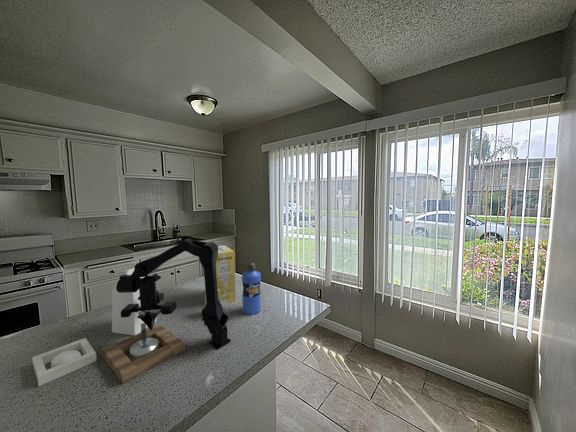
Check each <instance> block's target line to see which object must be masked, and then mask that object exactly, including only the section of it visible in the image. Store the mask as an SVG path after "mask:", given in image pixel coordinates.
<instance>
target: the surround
mask: <svg viewBox="0 0 576 432" xmlns="http://www.w3.org/2000/svg"><path fill="white" fill-rule="evenodd" d="M146 338H156V339H157V340H158V345H160V346H162V347H159V349H158V350H156V351H154V352H152V353H150V354H147V355H145V356H143V357H141V358H139V359H137V360H135V361H132V360H131V359H130V357H128V355H126V353H128V352H130V347H131V346H132V345H133V344H134V343H136V342H138V341H140V340H142V336H141V332H140V333H138V334H137V335H134V336H133V335H131V336H130V337H128V338H125V339H122V340H120V341H118V342H115V343H113V344H111V345H108V346H106V347H103V348H102V349H101V350H102V351H101V352H102V358H103V359H104V360H105V362H106V363H107V364H108V366H109V367H110V368H111V370H112V371H113V373H114V374H115V375H116V376H117V378H118V379H119V380H120V382H121V384H123V385H124V384H125V383H127V382H130V381H131V380H133V379H135V378H137V377H138V376H141V375H142V374H144V373H146V372H148V371H150V370H151V369H153V368H155V367H157V366H159V365H162V364H163V363H165V362H166V361H168V360H170V359H172V358H174V357H176V356H177V355H180V354H182V353H183V352H185V351H186V344H185V342H184V341H183V340H182V339H180V338H179V337H177V336H176V335H175V334H174V333H173V332H170V331H169V329H167V328H165V327H164V326H163V325H161V324H159V325H157V326H153V329H152V330H150V329H149V328H148V329H147V330H146Z"/></svg>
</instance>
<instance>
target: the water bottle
mask: <svg viewBox="0 0 576 432" xmlns="http://www.w3.org/2000/svg"><path fill="white" fill-rule="evenodd" d="M256 269H257V267H256V264H255V262H254V261H249V262H248V263H247V266H246V271H245V272H243V273H242V274H241V282H242V289H243V290H242V314H243V315H247V316H254V315H258V314H259V313H261V310H262V308H261V307H262V305H261V299H262V298H261V297H262V296H261V294H262V293H261V280H262V278H261V275H262V274H261V272H260V271H257V270H256Z"/></svg>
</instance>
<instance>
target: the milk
mask: <svg viewBox="0 0 576 432" xmlns="http://www.w3.org/2000/svg"><path fill="white" fill-rule="evenodd" d="M134 268H135V267H133V268H130V269H127V270H125V271H124V273H123V275H131V274H132V273H133V271H134ZM140 278H144V277H140ZM116 286H117V284H115V286H113V287H112V290H111V333H113V334H122V335H126V336H134V335H137V334H139V333H141V323H144V322H143V321H142V320H141V319H140V318H137V317H138V312H132V313H131V315H130V316H129V317H123V318H121V310H122V309H124V308H125V307H126V306H127V305H128V304H139V307H141V305H140V300H138V297H139V296H140V294H139V289H138V291H137V292H133V293H119V292H117V290H116ZM157 321H158V320H157V318H156V319H155V322H154V323H156V322H157ZM147 328H148V327H147V325H146V329H147Z"/></svg>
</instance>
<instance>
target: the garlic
mask: <svg viewBox="0 0 576 432" xmlns="http://www.w3.org/2000/svg"><path fill="white" fill-rule="evenodd" d="M80 356H82V352H81V351H80V350H79V351H75V350H69V351H64V352H62V353H60V354H59V355H57V356H56V357H55V358H53V360H52V361H51V362H50V368H53V367H55V366H58V365H60V364H63V363H65V362H68V361H70V360H72V359H75V358H77V357H80Z"/></svg>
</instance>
